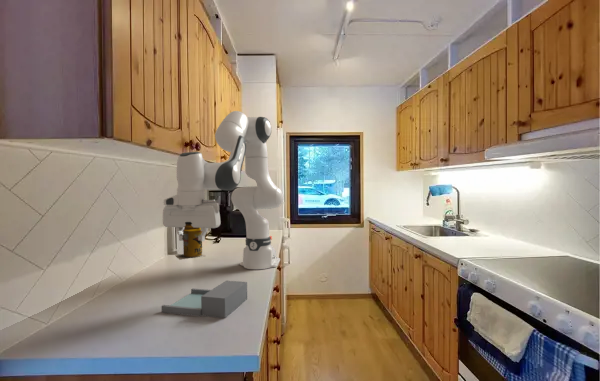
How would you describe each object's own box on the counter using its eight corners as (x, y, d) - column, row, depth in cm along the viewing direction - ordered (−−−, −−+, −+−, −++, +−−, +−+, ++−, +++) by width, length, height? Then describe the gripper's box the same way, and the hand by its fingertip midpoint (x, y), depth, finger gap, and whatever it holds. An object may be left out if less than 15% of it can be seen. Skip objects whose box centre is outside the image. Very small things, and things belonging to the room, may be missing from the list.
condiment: (206, 256, 105) (205, 221, 105) (179, 260, 101) (179, 222, 100) (199, 252, 111) (199, 219, 111) (174, 256, 107) (173, 220, 106)
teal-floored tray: (192, 293, 116) (192, 277, 116) (247, 298, 110) (247, 281, 110) (161, 312, 99) (161, 293, 99) (224, 318, 94) (223, 299, 94)
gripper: (223, 199, 106) (224, 240, 106) (171, 199, 111) (172, 238, 111) (213, 200, 100) (214, 243, 100) (159, 200, 105) (160, 241, 105)
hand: (191, 240), depth 106 cm, fingers closed on condiment, 6 cm apart
